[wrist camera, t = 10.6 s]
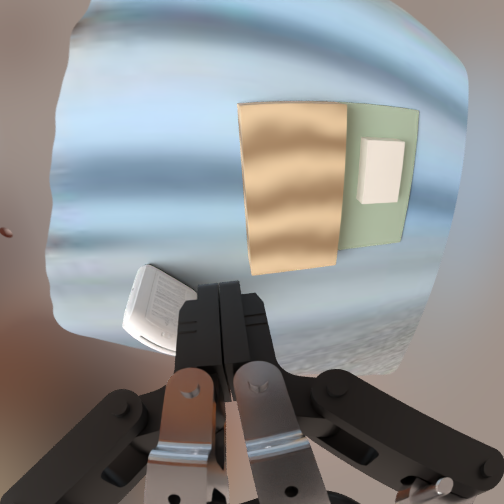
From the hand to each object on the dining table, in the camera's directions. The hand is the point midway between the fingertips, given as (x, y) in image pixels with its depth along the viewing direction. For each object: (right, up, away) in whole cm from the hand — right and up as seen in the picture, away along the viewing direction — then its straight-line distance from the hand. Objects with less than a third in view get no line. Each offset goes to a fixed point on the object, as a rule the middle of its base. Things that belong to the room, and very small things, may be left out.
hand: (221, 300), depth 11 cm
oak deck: (+6, +11, +26) cm, 29 cm away
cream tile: (+19, +12, +24) cm, 33 cm away
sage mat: (+19, +12, +27) cm, 35 cm away
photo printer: (-12, -3, +33) cm, 35 cm away
